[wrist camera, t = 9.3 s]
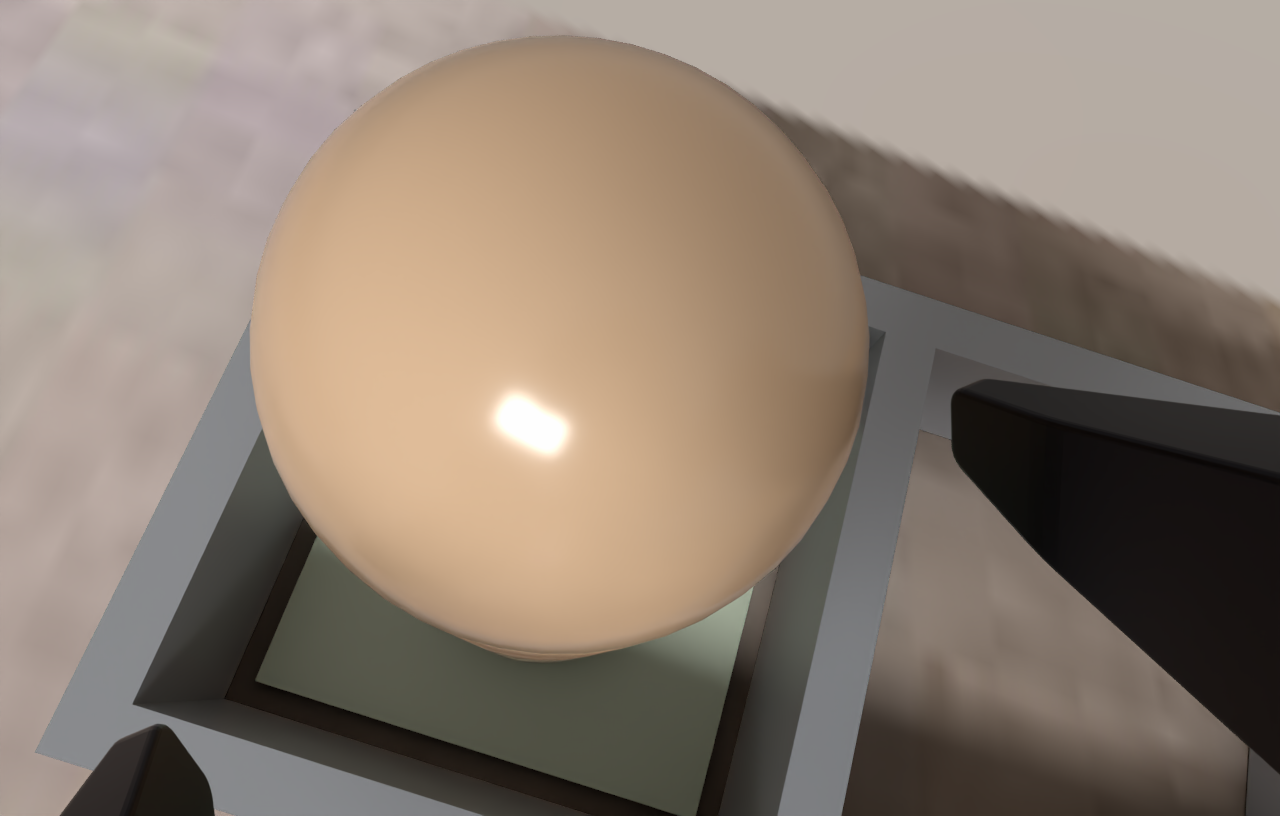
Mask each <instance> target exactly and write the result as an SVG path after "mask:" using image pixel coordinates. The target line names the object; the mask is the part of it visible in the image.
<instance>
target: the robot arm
mask: <svg viewBox="0 0 1280 816" xmlns="http://www.w3.org/2000/svg"><path fill="white" fill-rule="evenodd" d="M950 405H951V442H952V451H953V455H954V458H955V460H956V462H957V463H958V465H959V467H960V468H961V469H962V470H963V472H964V473H965V474H966V475H967V476H968V477H969V478H970V479H971V480H972V482H973V483H974V484H975V485H976V486H977V487H978V488H979V489H980V490H981V492H982V493H983V494H984V495H985V496H986V497H987V498H988V499H989V501H990V502H991V503H992V504H993V505H994V506H995V507H996V508H997V509H998V511H999V512H1000V513H1001V514H1002V515H1003V516H1004V517H1005V518H1006V520H1007V521H1008V522H1009V523H1010V524H1011V525H1012V526H1013V527H1014V528H1015V530H1016V531H1017V532H1018V533H1019V534H1020V535H1021V536H1022V537H1023V539H1024V540H1025V541H1026V542H1027V543H1028V544H1029V545H1030V546H1031V547H1032V548H1033V549H1034V550H1035V551H1036V552H1037V553H1038V554H1039V555H1040V557H1041V558H1042V559H1044V560H1045V561H1046V562H1047V563H1048V564H1049V565H1050V566H1051V567H1052V568H1053V569H1054V570H1055V571H1056V572H1057V573H1058V574H1059V575H1060V576H1062V577H1063V578H1064V579H1065V580H1066V581H1067V582H1068V583H1069V584H1070V585H1071V586H1073V587H1074V588H1075V589H1076V590H1077V591H1078V592H1079V593H1080V594H1081V595H1082V596H1084V597H1085V598H1086V599H1087V600H1088V601H1089V602H1090V603H1091V604H1092V605H1093V606H1095V607H1096V608H1097V609H1098V610H1099V611H1100V612H1101V613H1102V614H1103V615H1104V616H1106V617H1107V618H1108V619H1109V620H1110V621H1111V622H1112V623H1113V624H1114V625H1115V626H1117V627H1118V628H1119V629H1120V630H1121V631H1122V632H1123V633H1124V634H1125V635H1126V636H1127V637H1129V638H1130V639H1131V640H1132V641H1133V642H1134V643H1135V644H1136V645H1137V646H1138V647H1140V648H1141V649H1142V650H1143V651H1144V652H1145V653H1146V654H1147V655H1148V656H1149V657H1151V658H1152V659H1153V660H1154V661H1155V662H1156V663H1157V664H1158V665H1159V666H1160V667H1162V668H1163V669H1164V670H1165V671H1166V672H1167V673H1168V674H1169V675H1170V676H1171V677H1173V678H1174V679H1175V680H1176V681H1177V682H1178V683H1179V684H1180V685H1181V686H1182V687H1184V688H1185V689H1186V690H1187V691H1188V692H1189V693H1190V694H1191V695H1192V696H1193V697H1195V698H1196V699H1197V700H1198V701H1199V702H1200V703H1201V704H1202V705H1203V706H1204V707H1206V708H1207V709H1208V710H1209V711H1210V712H1211V713H1212V714H1213V715H1214V716H1215V717H1217V718H1218V719H1219V720H1220V721H1221V722H1222V723H1223V724H1224V725H1225V726H1226V727H1228V728H1229V729H1230V730H1231V731H1232V732H1233V733H1234V734H1235V735H1236V736H1237V737H1239V738H1240V739H1241V740H1242V741H1243V742H1244V743H1245V744H1246V745H1247V746H1248V747H1250V748H1251V749H1252V750H1253V751H1254V752H1255V753H1256V754H1257V755H1258V756H1259V757H1261V758H1262V759H1263V760H1264V761H1265V762H1266V763H1267V764H1268V765H1269V766H1270V767H1272V768H1273V769H1274V770H1275V771H1276V772H1277V773H1278V774H1279V775H1280V415H1274V414H1266V413H1258V412H1250V411H1242V410H1234V409H1226V408H1218V407H1210V406H1202V405H1194V404H1186V403H1178V402H1171V401H1163V400H1155V399H1147V398H1139V397H1131V396H1123V395H1115V394H1107V393H1099V392H1091V391H1083V390H1075V389H1067V388H1059V387H1051V386H1043V385H1035V384H1027V383H1019V382H1011V381H1003V380H995V379H981V380H978V381H976V382H973V383H971V384H968V385H966V386H964V387H961V388H959V389H957V390H956V391H955V392H954V393H953V395H952V398H951V404H950ZM60 816H215V814H214V804H213V797H212V792H211V788H210V785H209V782H208V780H207V778H206V776H205V774H204V773H203V771H202V770H201V769H200V767H199V766H198V765H197V763H196V762H195V760H194V759H193V758H192V756H191V755H190V753H189V752H188V751H187V749H186V748H185V747H184V745H183V744H182V742H181V741H180V740H179V738H178V737H177V736H176V734H175V733H174V732H173V730H172V729H171V728H169V727H168V726H167V725H165V724H154V725H152V726H149V727H147V728H144V729H142V730H140V731H137V732H135V733H132V734H130V735H128V736H125V737H123V738H121V739H119V740H118V741H116V742H115V743H114V744H113V746H112V747H111V748H110V749H109V750H108V752H107V753H106V754H105V756H104V757H103V758H102V760H101V761H100V762H99V764H98V765H97V766H96V768H95V769H94V771H93V772H92V773H91V775H90V776H89V777H88V779H87V780H86V781H85V783H84V784H83V785H82V787H81V788H80V789H79V791H78V792H77V793H76V795H75V796H74V797H73V799H72V800H71V801H70V803H69V804H68V805H67V807H66V808H65V809H64V811H63V812H62V813H61V815H60Z"/></svg>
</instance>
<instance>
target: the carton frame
mask: <svg viewBox="0 0 1280 816" xmlns="http://www.w3.org/2000/svg"><path fill="white" fill-rule="evenodd" d="M355 111H356V110H354V112H355ZM354 112H353V113H354ZM860 277H861V281H862V286H863V290H864V294H865V299H866V305H867V316H868V327H869V361H868V377H867V385H866V392H865V398H864V403H863V408H862V414H861V419H860V425H859V428H858V431H857V434H856V437H855V440H854V443H853V446H852V449H851V452H850V455H849V458H848V461H847V463H846V465H845V467H844V469H843V471H842V473H841V475H840V477H839V479H838V481H837V483H836V485H835V487H834V489H833V491H832V493H831V495H830V497H829V499H828V501H827V503H826V504H825V506H824V508H823V509H822V511H821V512H820V514H819V515H818V517H817V518H816V520H815V521H814V523H813V524H812V525H811V527H810V528H809V530H808V531H807V533H806V534H805V536H804V537H803V539H802V540H801V541H800V542H799V543H798V544H797V545H796V546H795V547H794V549H793V550H792V551H791V552H790V553H789V554H788V555H787V556H786V557H785V558H784V559H783V561H782V562H781V563H780V566H779V570H778V574H777V578H776V582H775V586H774V590H773V594H772V598H771V602H770V606H769V611H768V615H767V619H766V623H765V627H764V631H763V635H762V639H761V643H760V647H759V651H758V655H757V659H756V663H755V667H754V672H753V676H752V680H751V684H750V688H749V692H748V696H747V700H746V704H745V708H744V712H743V716H742V720H741V724H740V729H739V733H738V737H737V741H736V745H735V749H734V753H733V757H732V761H731V765H730V769H729V773H728V777H727V781H726V786H725V790H724V794H723V798H722V802H721V806H720V810H719V814H718V816H841V815H842V810H843V805H844V800H845V795H846V790H847V785H848V780H849V775H850V770H851V765H852V760H853V755H854V750H855V745H856V740H857V735H858V731H859V726H860V721H861V716H862V711H863V706H864V701H865V696H866V691H867V686H868V681H869V676H870V671H871V666H872V661H873V656H874V651H875V646H876V642H877V637H878V632H879V627H880V622H881V617H882V612H883V607H884V602H885V597H886V592H887V587H888V582H889V577H890V572H891V567H892V562H893V557H894V553H895V548H896V543H897V538H898V533H899V528H900V523H901V518H902V513H903V508H904V503H905V498H906V493H907V488H908V483H909V478H910V473H911V468H912V464H913V459H914V454H915V449H916V444H917V439H918V434H919V429H920V430H923V431H926V432H929V433H932V434H935V435H938V436H941V437H944V438H948V439H951V405H950V404H951V398H952V395H953V393H954V392H955V391H956V390H957V389H959V388H961V387H964V386H966V385H968V384H971V383H973V382H976V381H978V380H981V379H995V380H1003V381H1011V382H1019V383H1027V384H1035V385H1043V386H1051V387H1059V388H1067V389H1075V390H1083V391H1091V392H1099V393H1107V394H1115V395H1123V396H1131V397H1139V398H1147V399H1155V400H1163V401H1171V402H1178V403H1186V404H1194V405H1202V406H1210V407H1218V408H1226V409H1234V410H1242V411H1250V412H1258V413H1266V414H1274V415H1280V412H1277V411H1273V410H1270V409H1267V408H1264V407H1261V406H1258V405H1255V404H1252V403H1249V402H1246V401H1243V400H1240V399H1237V398H1234V397H1231V396H1228V395H1225V394H1222V393H1219V392H1215V391H1212V390H1209V389H1206V388H1203V387H1200V386H1197V385H1194V384H1191V383H1188V382H1185V381H1182V380H1179V379H1176V378H1173V377H1170V376H1167V375H1164V374H1161V373H1158V372H1154V371H1151V370H1148V369H1145V368H1142V367H1139V366H1136V365H1133V364H1130V363H1127V362H1124V361H1121V360H1118V359H1115V358H1112V357H1109V356H1106V355H1103V354H1100V353H1096V352H1093V351H1090V350H1087V349H1084V348H1081V347H1078V346H1075V345H1072V344H1069V343H1066V342H1063V341H1060V340H1057V339H1054V338H1051V337H1048V336H1045V335H1042V334H1039V333H1035V332H1032V331H1029V330H1026V329H1023V328H1020V327H1017V326H1014V325H1011V324H1008V323H1005V322H1002V321H999V320H996V319H993V318H990V317H987V316H984V315H981V314H978V313H974V312H971V311H968V310H965V309H962V308H959V307H956V306H953V305H950V304H947V303H944V302H941V301H938V300H935V299H932V298H929V297H926V296H923V295H920V294H916V293H913V292H910V291H907V290H904V289H901V288H898V287H895V286H892V285H889V284H886V283H883V282H880V281H877V280H874V279H871V278H868V277H865V276H862V275H860ZM250 324H251V319H250V321H249V323H248V325H247V327H246V329H245V331H244V333H243V335H242V337H241V339H240V341H239V343H238V345H237V347H236V349H235V351H234V353H233V355H232V357H231V359H230V361H229V363H228V365H227V367H226V369H225V372H224V374H223V376H222V378H221V380H220V382H219V384H218V386H217V388H216V390H215V392H214V394H213V396H212V398H211V400H210V402H209V404H208V406H207V408H206V410H205V412H204V414H203V416H202V418H201V420H200V422H199V424H198V426H197V428H196V430H195V432H194V434H193V436H192V438H191V440H190V442H189V444H188V446H187V448H186V450H185V452H184V454H183V456H182V458H181V460H180V462H179V464H178V466H177V468H176V470H175V472H174V474H173V476H172V478H171V480H170V482H169V484H168V486H167V488H166V490H165V492H164V494H163V496H162V498H161V500H160V502H159V504H158V506H157V508H156V510H155V512H154V514H153V516H152V518H151V520H150V522H149V524H148V526H147V528H146V530H145V532H144V534H143V536H142V538H141V540H140V542H139V544H138V546H137V548H136V550H135V552H134V554H133V556H132V558H131V560H130V562H129V564H128V566H127V568H126V570H125V572H124V574H123V576H122V578H121V580H120V582H119V584H118V586H117V588H116V590H115V592H114V594H113V596H112V598H111V600H110V602H109V604H108V606H107V608H106V611H105V613H104V615H103V617H102V619H101V621H100V623H99V625H98V627H97V629H96V631H95V633H94V635H93V637H92V639H91V641H90V643H89V645H88V647H87V649H86V651H85V653H84V655H83V657H82V659H81V661H80V663H79V665H78V667H77V669H76V671H75V673H74V675H73V677H72V679H71V681H70V683H69V685H68V687H67V689H66V691H65V693H64V695H63V697H62V699H61V701H60V703H59V705H58V707H57V709H56V711H55V713H54V715H53V717H52V719H51V721H50V723H49V725H48V727H47V729H46V731H45V733H44V735H43V737H42V739H41V741H40V743H39V745H38V747H37V749H36V751H35V753H39V754H42V755H45V756H48V757H51V758H54V759H58V760H61V761H64V762H67V763H70V764H73V765H77V766H80V767H83V768H86V769H89V770H93V771H94V769H95V768H96V766H97V765H98V764H99V762H100V761H101V760H102V758H103V757H104V756H105V754H106V753H107V752H108V750H109V749H110V748H111V747H112V746H113V744H114V743H115V742H116V741H118V740H119V739H121V738H123V737H125V736H128V735H130V734H132V733H135V732H137V731H140V730H142V729H144V728H147V727H149V726H152V725H154V724H165V725H167V726H168V727H169V728H171V729H172V730H173V732H174V733H175V734H176V736H177V737H178V738H179V740H180V741H181V742H182V744H183V745H184V747H185V748H186V749H187V751H188V752H189V753H190V755H191V756H192V758H193V759H194V760H195V762H196V763H197V765H198V766H199V767H200V769H201V770H202V771H203V773H204V774H205V776H206V778H207V780H208V782H209V785H210V788H211V792H212V797H213V804H214V809H216V810H219V811H223V812H226V813H229V814H232V815H235V816H593V815H589V814H586V813H583V812H580V811H577V810H574V809H571V808H567V807H564V806H561V805H558V804H555V803H552V802H549V801H545V800H542V799H539V798H536V797H533V796H530V795H526V794H523V793H520V792H517V791H514V790H511V789H508V788H504V787H501V786H498V785H495V784H492V783H489V782H485V781H482V780H479V779H476V778H473V777H470V776H467V775H463V774H460V773H457V772H454V771H451V770H448V769H444V768H441V767H438V766H435V765H432V764H429V763H426V762H422V761H419V760H416V759H413V758H410V757H407V756H403V755H400V754H397V753H394V752H391V751H388V750H385V749H381V748H378V747H375V746H372V745H369V744H366V743H362V742H359V741H356V740H353V739H350V738H347V737H344V736H340V735H337V734H334V733H331V732H328V731H325V730H321V729H318V728H315V727H312V726H309V725H306V724H303V723H299V722H296V721H293V720H290V719H287V718H284V717H280V716H277V715H274V714H271V713H268V712H265V711H262V710H258V709H255V708H252V707H249V706H246V705H243V704H240V703H236V702H233V701H230V700H227V699H224V698H225V695H226V693H227V691H228V689H229V686H230V684H231V682H232V679H233V677H234V675H235V673H236V670H237V668H238V666H239V663H240V661H241V659H242V657H243V654H244V652H245V650H246V647H247V645H248V643H249V641H250V638H251V636H252V634H253V631H254V629H255V627H256V625H257V622H258V620H259V618H260V615H261V613H262V611H263V609H264V606H265V604H266V602H267V599H268V597H269V595H270V593H271V590H272V588H273V586H274V584H275V581H276V579H277V577H278V574H279V572H280V570H281V568H282V565H283V563H284V561H285V558H286V556H287V554H288V552H289V549H290V547H291V545H292V542H293V540H294V538H295V536H296V533H297V531H298V529H299V526H300V524H301V522H302V520H303V515H302V514H301V512H300V511H299V509H298V508H297V507H296V505H295V504H294V502H293V501H292V499H291V497H290V495H289V493H288V491H287V489H286V487H285V485H284V483H283V481H282V479H281V477H280V475H279V473H278V471H277V469H276V467H275V465H274V463H273V460H272V457H271V454H270V450H269V447H268V444H267V441H266V438H265V435H264V432H263V429H262V425H261V422H260V419H259V415H258V412H257V407H256V401H255V395H254V389H253V383H252V377H251V370H250ZM753 587H754V586H753ZM753 587H752V588H751V589H750V590H748V591H747V592H746V593H745V594H743V595H742V596H740V597H739V598H738V599H736V600H735V601H733V602H731V603H730V604H728V605H726V606H725V607H723V608H722V609H720V610H718V611H717V612H715V613H713V614H712V615H710V616H708V617H707V618H705V619H704V620H702V621H699V622H697V623H695V624H693V625H690V626H688V627H686V628H684V629H681V630H679V631H677V632H674V633H672V634H670V635H668V636H665V637H662V638H658V639H655V640H651V641H648V642H644V643H641V644H637V645H634V646H630V647H627V648H622V649H618V650H613V651H609V652H605V653H600V654H596V655H591V656H587V657H582V658H578V659H573V660H569V661H562V662H555V663H529V662H522V661H516V660H512V659H509V658H505V657H502V656H499V655H497V654H494V653H492V652H490V651H487V650H485V649H483V648H481V647H478V646H476V645H474V644H472V643H469V642H467V641H465V640H463V639H460V638H458V637H456V636H454V635H451V634H449V633H447V632H445V631H442V630H440V629H438V628H436V627H433V626H431V625H429V624H427V623H424V622H422V621H420V620H418V619H416V618H415V617H413V616H411V615H410V614H408V613H406V612H405V611H403V610H402V609H400V608H398V607H397V606H395V605H393V604H392V603H390V602H388V601H387V600H385V599H383V598H382V597H381V596H380V595H378V594H377V593H376V592H375V591H373V590H372V589H371V588H370V587H369V586H367V585H366V584H365V583H364V582H362V581H361V580H360V579H359V578H357V577H356V576H355V575H354V574H353V573H351V572H350V571H349V570H348V569H347V568H346V566H345V565H344V564H343V563H342V562H341V561H340V560H339V559H338V558H337V557H336V556H335V555H334V554H333V552H332V551H331V550H330V549H329V548H328V547H327V546H326V545H325V544H324V543H323V542H322V541H321V539H320V538H319V537H318V536H317V537H316V539H315V542H314V544H313V546H312V549H311V551H310V553H309V556H308V558H307V560H306V563H305V565H304V567H303V570H302V572H301V574H300V577H299V579H298V581H297V583H296V586H295V588H294V590H293V593H292V595H291V597H290V600H289V602H288V604H287V607H286V609H285V611H284V614H283V616H282V618H281V621H280V623H279V625H278V628H277V630H276V632H275V635H274V637H273V639H272V642H271V644H270V646H269V649H268V651H267V653H266V656H265V658H264V660H263V663H262V665H261V667H260V670H259V672H258V674H257V677H256V679H255V681H257V682H260V683H263V684H266V685H270V686H273V687H276V688H279V689H282V690H285V691H289V692H292V693H295V694H298V695H301V696H304V697H307V698H311V699H314V700H317V701H320V702H323V703H326V704H329V705H333V706H336V707H339V708H342V709H345V710H348V711H351V712H355V713H358V714H361V715H364V716H367V717H370V718H374V719H377V720H380V721H383V722H386V723H389V724H392V725H396V726H399V727H402V728H405V729H408V730H411V731H414V732H418V733H421V734H424V735H427V736H430V737H433V738H436V739H440V740H443V741H446V742H449V743H452V744H455V745H459V746H462V747H465V748H468V749H471V750H474V751H477V752H481V753H484V754H487V755H490V756H493V757H496V758H499V759H503V760H506V761H509V762H512V763H515V764H518V765H521V766H525V767H528V768H531V769H534V770H537V771H540V772H544V773H547V774H550V775H553V776H556V777H559V778H562V779H566V780H569V781H572V782H575V783H578V784H581V785H584V786H588V787H591V788H594V789H597V790H600V791H603V792H607V793H610V794H613V795H616V796H619V797H622V798H625V799H629V800H632V801H635V802H638V803H641V804H644V805H647V806H651V807H654V808H657V809H660V810H663V811H666V812H669V813H673V814H676V815H679V816H696V812H697V808H698V804H699V800H700V796H701V792H702V788H703V784H704V781H705V777H706V773H707V769H708V765H709V761H710V757H711V753H712V749H713V745H714V741H715V737H716V733H717V729H718V725H719V721H720V717H721V714H722V710H723V706H724V702H725V698H726V694H727V690H728V686H729V682H730V678H731V674H732V670H733V666H734V662H735V658H736V654H737V650H738V646H739V643H740V639H741V635H742V631H743V627H744V623H745V619H746V615H747V611H748V607H749V603H750V599H751V595H752V591H753ZM1246 816H1280V775H1279V774H1278V773H1277V772H1276V771H1275V770H1274V769H1273V768H1272V767H1270V766H1269V765H1268V764H1267V763H1266V762H1265V761H1264V760H1263V759H1262V758H1261V757H1259V756H1258V755H1257V754H1256V753H1255V752H1254V751H1253V750H1252V749H1251V748H1250V750H1249V767H1248V784H1247V801H1246Z"/></svg>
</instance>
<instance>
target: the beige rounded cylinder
mask: <svg viewBox="0 0 1280 816" xmlns="http://www.w3.org/2000/svg"><path fill="white" fill-rule="evenodd" d="M868 361H869V327H868V316H867V305H866V299H865V294H864V290H863V286H862V281H861V277H860V272H859V268H858V264H857V260H856V256H855V252H854V249H853V247H852V244H851V241H850V239H849V236H848V233H847V230H846V228H845V225H844V222H843V220H842V218H841V216H840V214H839V212H838V210H837V208H836V206H835V204H834V202H833V201H832V199H831V197H830V195H829V193H828V191H827V189H826V188H825V186H824V185H823V183H822V182H821V180H820V179H819V177H818V176H817V175H816V173H815V172H814V170H813V169H812V167H811V166H810V164H809V163H808V161H807V160H806V159H805V157H804V156H803V155H802V154H801V152H800V151H799V150H798V149H797V148H796V146H795V145H794V144H793V143H792V142H791V141H790V140H789V138H788V137H787V136H786V135H785V134H784V133H783V132H782V130H781V129H780V128H779V127H778V126H777V125H776V124H775V123H774V122H773V121H771V120H770V119H769V118H768V117H767V116H766V115H765V114H764V113H763V112H762V111H760V110H759V109H758V108H757V107H756V106H755V105H754V104H753V103H751V102H750V101H748V100H747V99H746V98H744V97H743V96H741V95H740V94H739V93H737V92H736V91H734V90H733V89H732V88H730V87H729V86H727V85H726V84H724V83H723V82H721V81H719V80H717V79H715V78H714V77H712V76H710V75H708V74H707V73H705V72H703V71H701V70H699V69H698V68H696V67H693V66H691V65H689V64H686V63H684V62H682V61H679V60H677V59H675V58H672V57H670V56H668V55H665V54H662V53H659V52H655V51H652V50H649V49H646V48H642V47H639V46H636V45H632V44H627V43H622V42H617V41H611V40H606V39H601V38H591V37H578V36H566V35H561V36H529V37H522V38H515V39H508V40H501V41H495V42H491V43H487V44H483V45H479V46H475V47H472V48H468V49H464V50H461V51H458V52H456V53H453V54H450V55H448V56H445V57H443V58H440V59H437V60H435V61H432V62H430V63H428V64H426V65H424V66H422V67H421V68H419V69H417V70H415V71H413V72H411V73H409V74H407V75H405V76H404V77H402V78H400V79H398V80H397V81H396V82H394V83H393V84H391V85H390V86H388V87H387V88H386V89H384V90H383V91H381V92H380V93H378V94H377V95H376V96H374V97H373V98H371V99H370V100H369V101H367V102H366V103H364V104H363V105H362V106H360V107H359V108H358V109H357V110H356V111H355V112H354V113H353V114H352V115H351V116H349V117H348V118H347V119H346V120H345V121H344V122H343V123H342V124H341V125H340V126H338V127H337V128H336V129H335V130H334V131H333V132H332V134H331V135H330V136H329V137H328V138H327V139H326V141H325V142H324V143H323V144H322V145H321V147H320V148H319V149H318V150H317V151H316V152H315V154H314V155H313V156H312V157H311V158H310V160H309V162H308V163H307V165H306V166H305V168H304V170H303V171H302V173H301V174H300V176H299V177H298V179H297V181H296V182H295V184H294V185H293V187H292V189H291V190H290V192H289V194H288V196H287V197H286V199H285V201H284V203H283V205H282V207H281V209H280V211H279V214H278V216H277V218H276V220H275V223H274V225H273V227H272V229H271V231H270V234H269V236H268V238H267V242H266V245H265V249H264V252H263V256H262V259H261V262H260V266H259V269H258V273H257V278H256V286H255V293H254V301H253V308H252V316H251V324H250V370H251V377H252V383H253V389H254V395H255V401H256V407H257V412H258V415H259V419H260V422H261V425H262V429H263V432H264V435H265V438H266V441H267V444H268V447H269V450H270V454H271V457H272V460H273V463H274V465H275V467H276V469H277V471H278V473H279V475H280V477H281V479H282V481H283V483H284V485H285V487H286V489H287V491H288V493H289V495H290V497H291V499H292V501H293V502H294V504H295V505H296V507H297V508H298V509H299V511H300V512H301V514H302V515H303V517H304V518H305V520H306V521H307V523H308V524H309V525H310V527H311V528H312V530H313V531H314V533H315V534H316V535H317V536H318V537H319V538H320V539H321V541H322V542H323V543H324V544H325V545H326V546H327V547H328V548H329V549H330V550H331V551H332V552H333V554H334V555H335V556H336V557H337V558H338V559H339V560H340V561H341V562H342V563H343V564H344V565H345V566H346V568H347V569H348V570H349V571H350V572H351V573H353V574H354V575H355V576H356V577H357V578H359V579H360V580H361V581H362V582H364V583H365V584H366V585H367V586H369V587H370V588H371V589H372V590H373V591H375V592H376V593H377V594H378V595H380V596H381V597H382V598H383V599H385V600H387V601H388V602H390V603H392V604H393V605H395V606H397V607H398V608H400V609H402V610H403V611H405V612H406V613H408V614H410V615H411V616H413V617H415V618H416V619H418V620H420V621H422V622H424V623H427V624H429V625H431V626H433V627H436V628H438V629H440V630H442V631H445V632H447V633H449V634H451V635H454V636H456V637H458V638H460V639H463V640H465V641H467V642H469V643H472V644H474V645H476V646H478V647H481V648H483V649H485V650H487V651H490V652H492V653H494V654H497V655H499V656H502V657H505V658H509V659H512V660H516V661H522V662H529V663H555V662H562V661H569V660H573V659H578V658H582V657H587V656H591V655H596V654H600V653H605V652H609V651H613V650H618V649H622V648H627V647H630V646H634V645H637V644H641V643H644V642H648V641H651V640H655V639H658V638H662V637H665V636H668V635H670V634H672V633H674V632H677V631H679V630H681V629H684V628H686V627H688V626H690V625H693V624H695V623H697V622H699V621H702V620H704V619H705V618H707V617H708V616H710V615H712V614H713V613H715V612H717V611H718V610H720V609H722V608H723V607H725V606H726V605H728V604H730V603H731V602H733V601H735V600H736V599H738V598H739V597H740V596H742V595H743V594H745V593H746V592H747V591H748V590H750V589H751V588H752V587H753V586H754V585H756V584H757V583H758V582H759V581H761V580H762V579H763V578H764V577H765V576H767V575H768V574H769V573H770V572H771V571H773V570H774V569H775V568H776V567H777V566H778V565H779V564H780V563H781V562H782V561H783V559H784V558H785V557H786V556H787V555H788V554H789V553H790V552H791V551H792V550H793V549H794V547H795V546H796V545H797V544H798V543H799V542H800V541H801V540H802V539H803V537H804V536H805V534H806V533H807V531H808V530H809V528H810V527H811V525H812V524H813V523H814V521H815V520H816V518H817V517H818V515H819V514H820V512H821V511H822V509H823V508H824V506H825V504H826V503H827V501H828V499H829V497H830V495H831V493H832V491H833V489H834V487H835V485H836V483H837V481H838V479H839V477H840V475H841V473H842V471H843V469H844V467H845V465H846V463H847V461H848V458H849V455H850V452H851V449H852V446H853V443H854V440H855V437H856V434H857V431H858V428H859V425H860V419H861V414H862V408H863V403H864V398H865V392H866V385H867V377H868Z"/></svg>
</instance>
